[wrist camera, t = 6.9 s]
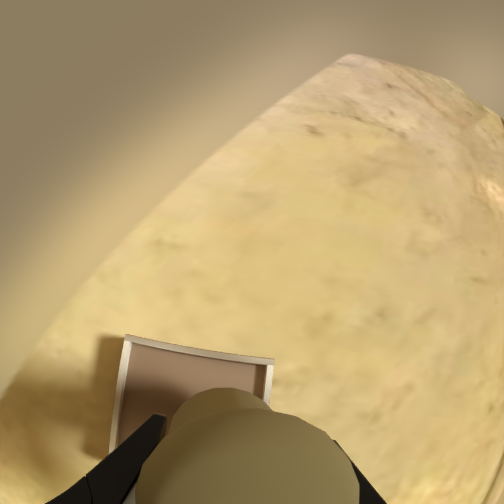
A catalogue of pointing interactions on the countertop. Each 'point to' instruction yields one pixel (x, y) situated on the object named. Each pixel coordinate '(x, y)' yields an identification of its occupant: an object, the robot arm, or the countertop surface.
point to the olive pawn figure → (244, 457)
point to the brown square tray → (177, 380)
